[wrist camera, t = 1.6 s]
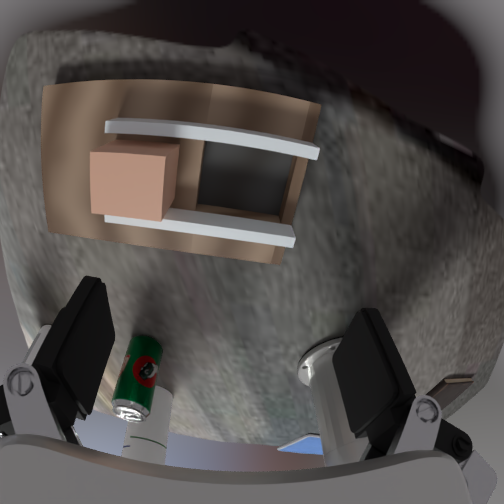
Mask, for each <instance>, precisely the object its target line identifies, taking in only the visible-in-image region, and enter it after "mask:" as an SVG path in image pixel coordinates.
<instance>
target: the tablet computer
mask: <svg viewBox="0 0 504 504" xmlns="http://www.w3.org/2000/svg"><path fill="white" fill-rule="evenodd" d="M277 449H278V450H279V451H287V452H296V453H307V454H322V455H323V450H322V445H321V439H320V435H314V434H307V435H304V436H302V437H300V438H298V439H296V440H293V441H291V442H289V443H287V444H285V445H282V446H280V447H279V448H277Z"/></svg>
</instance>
